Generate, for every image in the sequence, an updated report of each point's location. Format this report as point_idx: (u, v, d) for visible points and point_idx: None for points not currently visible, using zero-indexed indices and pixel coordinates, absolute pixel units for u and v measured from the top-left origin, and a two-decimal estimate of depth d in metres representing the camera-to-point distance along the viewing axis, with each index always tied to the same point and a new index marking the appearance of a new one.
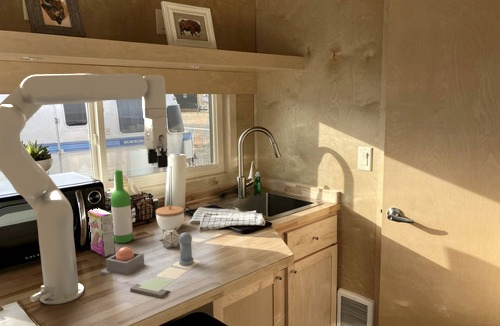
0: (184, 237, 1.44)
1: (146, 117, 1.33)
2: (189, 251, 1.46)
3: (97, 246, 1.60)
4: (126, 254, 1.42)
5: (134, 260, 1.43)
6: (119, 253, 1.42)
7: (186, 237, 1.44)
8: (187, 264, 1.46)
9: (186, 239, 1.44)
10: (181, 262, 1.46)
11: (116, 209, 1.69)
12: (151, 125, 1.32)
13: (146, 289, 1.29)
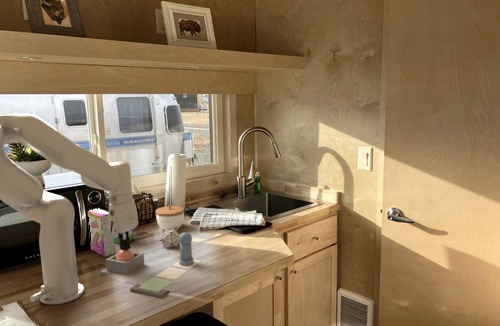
0: (184, 237, 1.44)
1: (132, 200, 1.41)
2: (189, 251, 1.46)
3: (97, 246, 1.60)
4: (126, 256, 1.42)
5: (134, 260, 1.43)
6: (119, 255, 1.43)
7: (186, 237, 1.44)
8: (187, 264, 1.46)
9: (186, 239, 1.44)
10: (181, 262, 1.46)
11: None
12: (134, 205, 1.44)
13: (146, 289, 1.29)
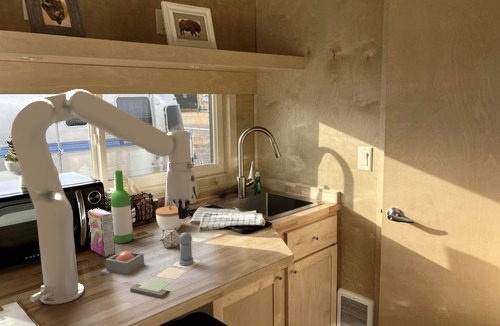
0: (184, 237, 1.44)
1: None
2: (189, 251, 1.46)
3: (97, 246, 1.60)
4: (126, 259, 1.43)
5: (134, 260, 1.43)
6: (119, 258, 1.43)
7: (186, 237, 1.44)
8: (187, 264, 1.46)
9: (186, 239, 1.44)
10: (181, 262, 1.46)
11: (116, 209, 1.69)
12: None
13: (146, 289, 1.29)
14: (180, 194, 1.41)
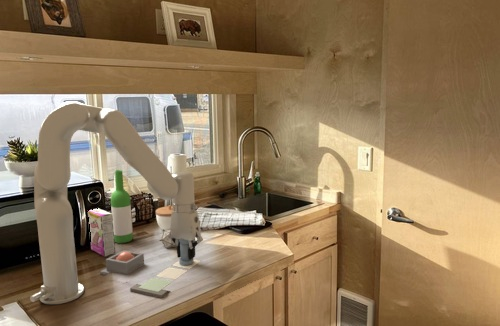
0: None
1: None
2: None
3: (97, 246, 1.60)
4: (126, 259, 1.43)
5: (134, 260, 1.43)
6: (119, 258, 1.43)
7: None
8: (187, 264, 1.46)
9: None
10: (181, 262, 1.46)
11: (116, 209, 1.69)
12: None
13: (146, 289, 1.29)
14: (183, 234, 1.44)
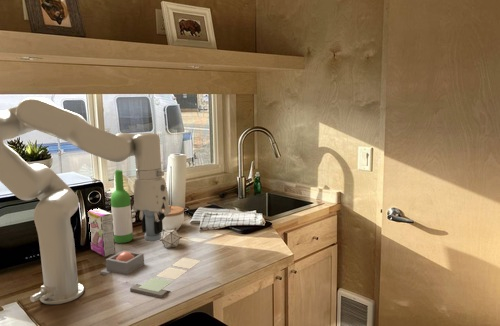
0: None
1: None
2: None
3: (97, 246, 1.60)
4: (126, 259, 1.43)
5: (134, 260, 1.43)
6: (119, 258, 1.43)
7: None
8: (153, 239, 1.27)
9: None
10: (146, 237, 1.27)
11: (116, 209, 1.69)
12: None
13: (146, 289, 1.29)
14: (148, 205, 1.25)
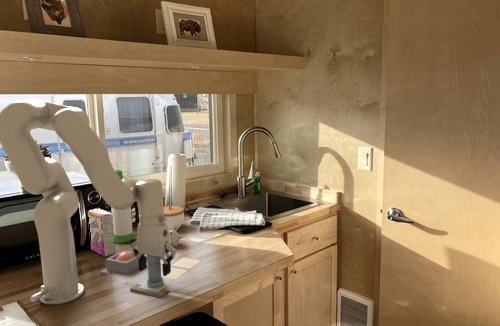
0: (152, 256, 1.28)
1: None
2: (157, 271, 1.30)
3: (97, 246, 1.60)
4: (126, 259, 1.43)
5: (134, 260, 1.43)
6: (119, 258, 1.43)
7: (154, 256, 1.28)
8: (155, 286, 1.29)
9: (154, 258, 1.28)
10: (149, 284, 1.30)
11: None
12: None
13: (146, 289, 1.29)
14: (151, 250, 1.27)
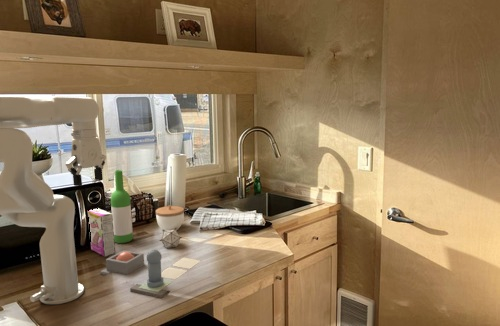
0: (152, 255, 1.28)
1: (95, 137, 1.43)
2: (157, 271, 1.30)
3: (97, 246, 1.60)
4: (126, 259, 1.43)
5: (134, 260, 1.43)
6: (119, 258, 1.43)
7: (154, 256, 1.28)
8: (155, 286, 1.29)
9: (154, 258, 1.28)
10: (149, 283, 1.30)
11: (116, 209, 1.69)
12: (98, 143, 1.46)
13: (146, 289, 1.29)
14: None
